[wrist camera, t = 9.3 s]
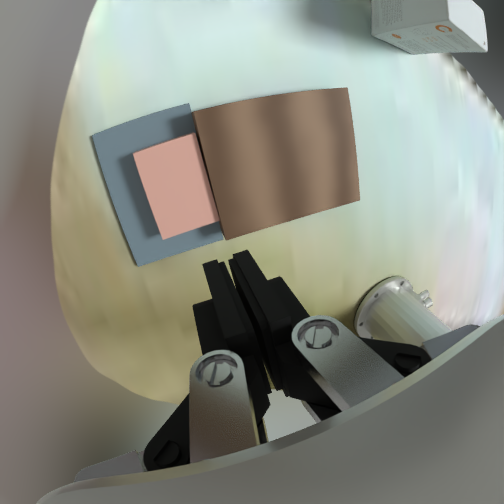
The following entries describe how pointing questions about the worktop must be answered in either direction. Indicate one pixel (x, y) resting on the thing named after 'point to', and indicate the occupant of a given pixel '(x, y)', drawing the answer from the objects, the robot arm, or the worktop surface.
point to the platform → (278, 157)
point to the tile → (176, 185)
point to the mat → (131, 188)
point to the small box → (430, 25)
